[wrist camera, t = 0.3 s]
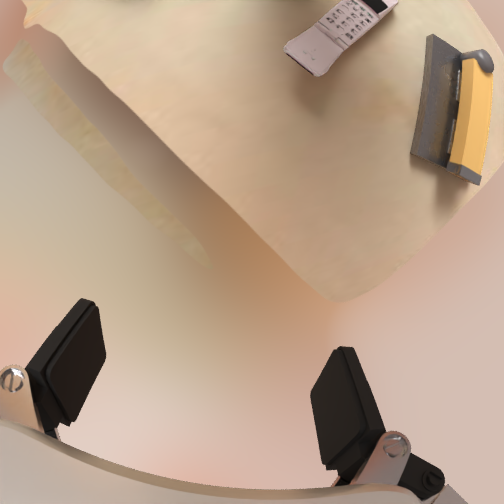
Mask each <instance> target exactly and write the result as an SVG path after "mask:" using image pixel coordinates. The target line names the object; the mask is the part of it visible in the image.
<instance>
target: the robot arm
mask: <svg viewBox="0 0 504 504" xmlns="http://www.w3.org/2000/svg"><path fill="white" fill-rule="evenodd" d="M105 359H106V350H105V345H104V340H103V335H102V328H101V321H100V314H99V309H98V307H97V306H96V305H95V303H94V302H93V301H90V300H86V299H83V298H81V299H80V300H79V301H78V302H77V303H76V304H75V305H74V306H73V308H72V309H71V310H70V311H69V312H68V314H67V315H66V316H65V317H64V319H63V320H62V321H61V322H60V323H59V325H58V326H56V327H55V329H54V330H53V331H52V333H51V334H50V335H49V336H48V338H47V339H46V340H45V342H44V343H43V344H42V346H41V347H40V348H39V350H38V351H37V352H36V354H35V355H34V357H33V358H32V359H31V361H30V362H29V364H28V365H27V366H26V368H25V369H24V368H22V367H20V366H18V365H9V366H6V367H5V368H3V369H2V370H1V371H0V504H468V503H467V502H466V501H465V500H464V499H463V498H462V497H461V496H460V495H459V494H458V493H456V491H455V490H453V488H452V487H450V486H449V484H447V485H446V486H445V485H444V483H445V477H444V474H443V472H442V471H441V470H440V469H439V468H437V467H435V466H434V465H432V464H430V463H428V462H426V461H425V460H423V459H421V458H419V457H417V456H416V455H414V454H412V453H410V452H411V445H410V442H409V440H408V439H407V437H406V436H405V435H403V434H402V433H400V432H397V431H389V432H386V430H385V427H384V424H383V421H382V419H381V415H380V413H379V410H378V407H377V404H376V402H375V399H374V396H373V394H372V391H371V388H370V386H369V384H368V381H367V380H366V377H365V374H364V372H363V369H362V367H361V364H360V362H359V359H358V357H357V355H356V352H355V350H354V348H353V347H342V346H340V347H338V348H337V350H333V352H332V354H331V356H330V357H329V359H328V361H327V363H326V365H325V367H324V369H323V370H322V372H321V374H320V376H319V378H318V380H317V382H316V383H315V385H314V387H313V389H312V390H311V395H310V398H311V404H312V409H313V415H314V420H315V425H316V431H317V437H318V443H319V449H320V455H321V461H322V464H324V465H326V470H337V471H338V477H337V479H336V480H335V481H334V483H333V484H332V485H331V487H326V488H312V489H291V490H262V489H241V488H229V487H219V486H211V485H203V484H197V483H191V482H185V481H180V480H175V479H170V478H166V477H161V476H157V475H153V474H149V473H145V472H141V471H138V470H135V469H131V468H128V467H125V466H122V465H119V464H116V463H113V462H110V461H107V460H104V459H101V458H99V457H96V456H94V455H91V454H88V453H86V452H84V451H81V450H79V449H76V448H74V447H72V446H70V445H67V444H65V443H63V442H61V439H60V436H59V433H58V430H57V427H58V425H59V423H62V424H64V425H66V426H70V424H71V422H75V420H76V419H77V417H78V415H79V413H80V410H81V408H82V406H83V404H84V402H85V400H86V398H87V396H88V394H89V392H90V390H91V388H92V385H93V384H94V382H95V379H96V378H97V376H98V374H99V372H100V370H101V368H102V366H103V364H104V362H105Z"/></svg>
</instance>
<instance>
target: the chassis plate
mask: <svg viewBox="0 0 504 504" xmlns="http://www.w3.org/2000/svg"><path fill="white" fill-rule="evenodd" d="M461 54H462V53H461V52H460V51H458V50H457V49H455V48H454V47H452V46H451V45H449V44H448V43H446V42H445V41H443V40H442V39H440V38H439V37H437V36H435V35H434V34H432V35H429V36H427V40H426V55H425V67H424V76H423V84H422V92H421V99H420V105H419V111H418V117H417V123H416V128H415V133H414V138H413V143H412V147H411V152H410V153H411V154H413V155H415V156H417V157H420V158H422V159H424V160H426V161H429V162H431V163H433V164H435V165H437V166H439V167H441V168H443V169H445V170H446V168H447V164H448V161H449V160H450V156H451V151H452V146H453V141H454V136H455V130H456V124H457V117H458V110H459V102H460V92H461V80H462V65H461V62H460V56H461Z"/></svg>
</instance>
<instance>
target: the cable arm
mask: <svg viewBox="0 0 504 504" xmlns="http://www.w3.org/2000/svg"><path fill="white" fill-rule="evenodd" d="M460 62H461V65H462V80H461V92H460V102H459V110H458V117H457V124H456V130H455V136H454V141H453V146H452V151H451V156H450V160H449V161H448V164H447V168H446V171H447V172H449V173H451V174H453V175H455V176H457V177H459V178H461V179H463V180H465V181H467V182H470V183H473V184H476V185H480V181H481V177H482V176H481V171H482V166H483V161H484V156H485V151H486V145H487V139H488V132H489V125H490V116H491V106H492V90H493V74H492V72H493V70H494V64H493V61H492V58H491V57H490V55H489V54H488V53H487V52H486V51H485V50H483V49H481V50H476V51H471V52H467V53H462V54H461V56H460Z"/></svg>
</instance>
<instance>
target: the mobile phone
mask: <svg viewBox="0 0 504 504" xmlns="http://www.w3.org/2000/svg"><path fill="white" fill-rule="evenodd" d="M397 3H398V1H397V0H341V1H340V2H339V3H338V4H337V5H335V6H334V7H333V8H332V9H330V10H329V11H328V12H327V13H326V14H325V15H324V16H323V17H322V18H321V19H320V20H319V21H318V22H316V23H315V24H314V25H313V26H312V27H310V28H309V29H307V30H306V31H304V32H303V33H301V34H300V35H299V36H297V37H296V38H294V39H291V40H289V41H288V42H287V45H285V46H284V48H283V50H284V52H285V53H286V54H287V55H288V56H290V57H291V58H292V59H293V60H295V61H296V62H297V63H298V64H299V65H301V66H302V67H303V68H304V69H306V70H307V71H308V72H310V73H311V74H312V75H314V76H317V77H320V76H322V75H323V74H324V73H326V72H327V71H328V70H329V67H330V66H331V65H332V64H333V63H334V62H335V61H336V59H337V58H338V57H339V56H340V55H341V54H342V53H343V52H342V51H344V50H346V49H347V48H348V47H349V46H350V45H352V44H353V43H355V42H356V41H357V40H358V39H359V38H361V37H362V36H363V35H364V34H365V33H366V32H368V31H369V30H370V29H371V28H372V27H373V26H374V25H376V24H377V23H378V22H379V21H380V20H381V19H382V18H383V17H384V16H385V15H386V14H387V13H388V12H390V11H391V10H392V8H393V7H394V6H395V5H396V4H397Z"/></svg>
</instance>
